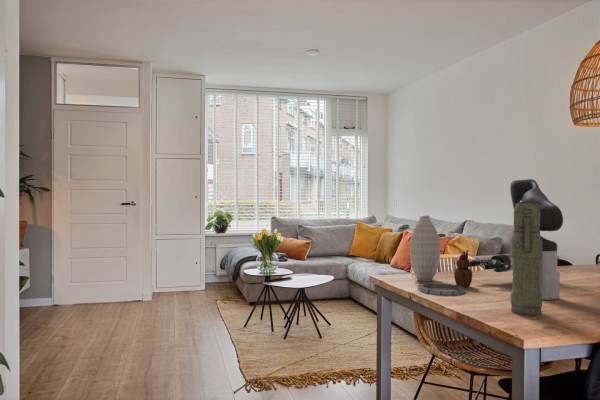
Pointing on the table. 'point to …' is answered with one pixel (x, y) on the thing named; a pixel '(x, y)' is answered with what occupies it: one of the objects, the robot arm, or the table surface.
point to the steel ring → (426, 286)
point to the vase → (424, 249)
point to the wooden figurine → (463, 271)
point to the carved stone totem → (526, 260)
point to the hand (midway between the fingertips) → (477, 265)
